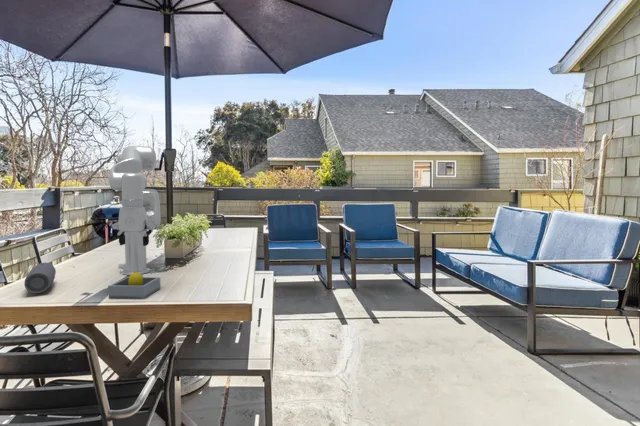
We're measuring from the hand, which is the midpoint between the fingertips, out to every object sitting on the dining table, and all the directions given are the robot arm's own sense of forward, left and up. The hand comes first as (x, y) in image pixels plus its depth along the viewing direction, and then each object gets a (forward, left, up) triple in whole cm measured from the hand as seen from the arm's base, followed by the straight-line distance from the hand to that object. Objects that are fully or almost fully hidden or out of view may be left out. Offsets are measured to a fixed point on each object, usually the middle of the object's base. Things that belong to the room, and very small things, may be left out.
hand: (134, 245), depth 156 cm
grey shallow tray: (+2, -4, -19) cm, 20 cm away
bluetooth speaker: (-41, +1, -20) cm, 45 cm away
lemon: (+2, -4, -18) cm, 19 cm away
